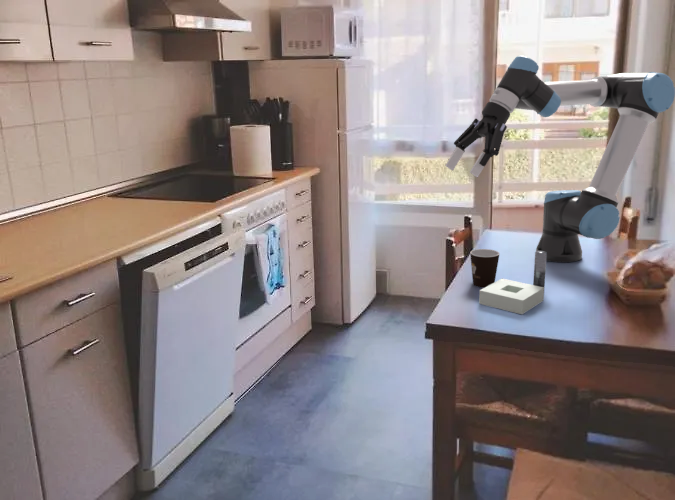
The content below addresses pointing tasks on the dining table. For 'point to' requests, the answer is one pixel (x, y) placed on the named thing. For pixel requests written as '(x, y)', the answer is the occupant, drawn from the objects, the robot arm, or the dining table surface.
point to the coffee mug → (484, 266)
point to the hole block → (511, 296)
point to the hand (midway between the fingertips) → (460, 171)
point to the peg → (540, 268)
